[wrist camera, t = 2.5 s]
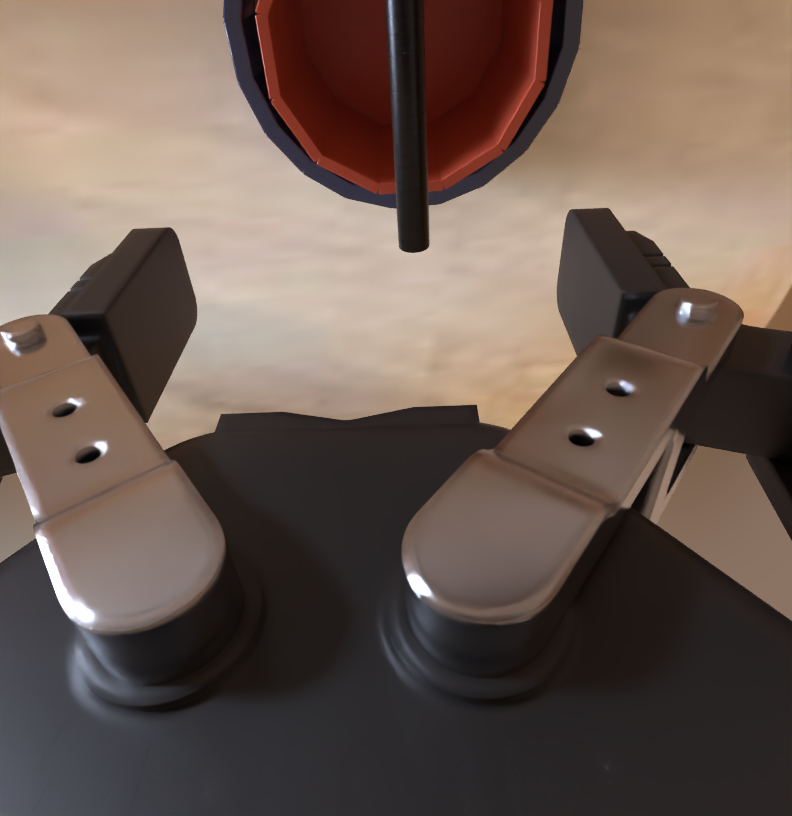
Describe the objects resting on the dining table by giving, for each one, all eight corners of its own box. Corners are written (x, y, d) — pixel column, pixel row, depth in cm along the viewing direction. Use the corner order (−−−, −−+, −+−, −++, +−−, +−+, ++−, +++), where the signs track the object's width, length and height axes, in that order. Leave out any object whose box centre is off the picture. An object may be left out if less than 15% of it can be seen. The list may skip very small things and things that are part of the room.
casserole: (189, -87, 29) (146, -86, 24) (501, -277, 25) (528, -325, 20) (336, 207, 38) (327, 251, 33) (582, 99, 34) (614, 131, 29)
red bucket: (311, 146, 35) (271, 261, 24) (272, -134, 28) (184, -170, 16) (504, 134, 35) (560, 245, 23) (519, -154, 27) (614, -204, 16)
